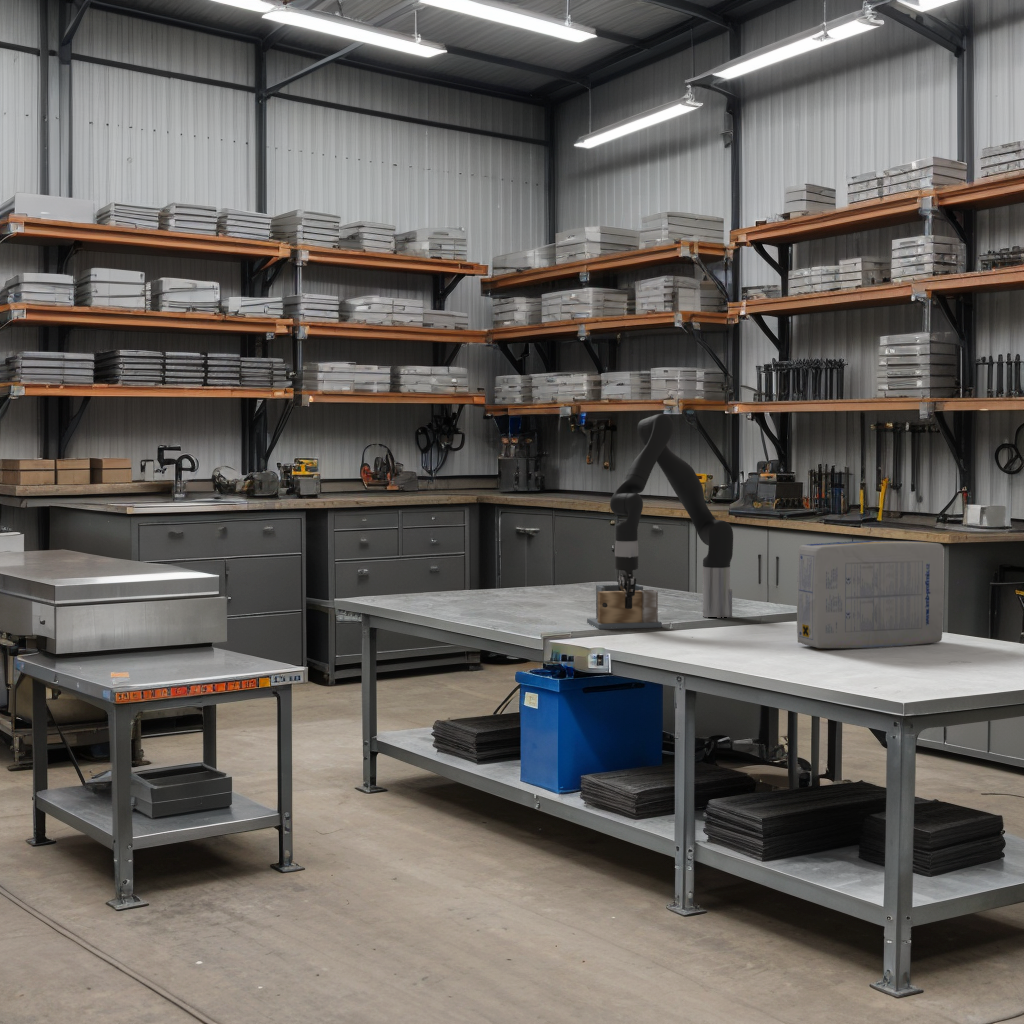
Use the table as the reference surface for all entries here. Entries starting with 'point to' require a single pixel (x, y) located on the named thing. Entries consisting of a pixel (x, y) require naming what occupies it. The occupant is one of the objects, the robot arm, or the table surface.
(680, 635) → the table surface
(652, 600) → the door
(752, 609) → the table surface
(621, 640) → the table surface
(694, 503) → the robot arm
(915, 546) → the construction material bag
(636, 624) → the grey corner bracket
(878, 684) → the table surface
